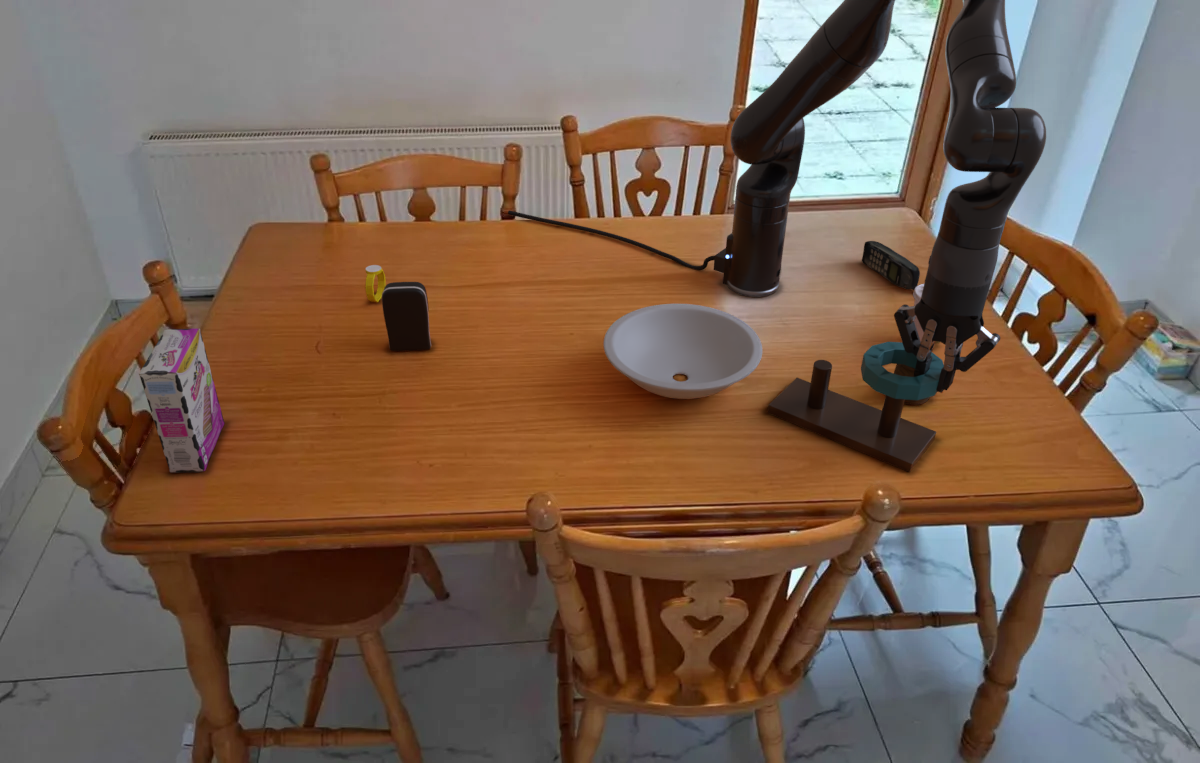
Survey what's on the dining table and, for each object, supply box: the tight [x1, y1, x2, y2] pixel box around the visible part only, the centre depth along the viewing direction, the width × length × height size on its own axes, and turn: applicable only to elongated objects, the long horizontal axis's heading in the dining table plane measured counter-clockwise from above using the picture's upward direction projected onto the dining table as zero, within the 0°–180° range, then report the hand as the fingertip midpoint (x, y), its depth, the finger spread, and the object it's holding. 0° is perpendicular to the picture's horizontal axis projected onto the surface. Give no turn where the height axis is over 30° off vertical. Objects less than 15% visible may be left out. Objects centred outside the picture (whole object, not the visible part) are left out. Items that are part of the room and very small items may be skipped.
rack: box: [767, 359, 937, 473], centre depth 132 cm, size 22×9×10 cm, turn 53°
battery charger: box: [381, 281, 432, 352], centre depth 149 cm, size 7×4×11 cm, turn 94°
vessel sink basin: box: [602, 303, 763, 400], centre depth 143 cm, size 24×24×7 cm
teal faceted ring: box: [860, 341, 944, 400], centre depth 125 cm, size 10×10×2 cm
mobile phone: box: [861, 240, 921, 291], centre depth 170 cm, size 5×3×15 cm
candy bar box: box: [138, 327, 225, 474], centre depth 125 cm, size 11×5×16 cm, turn 5°
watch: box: [364, 264, 387, 303], centre depth 163 cm, size 6×3×6 cm, turn 171°
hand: (931, 385), depth 124 cm, fingers closed on teal faceted ring, 2 cm apart
